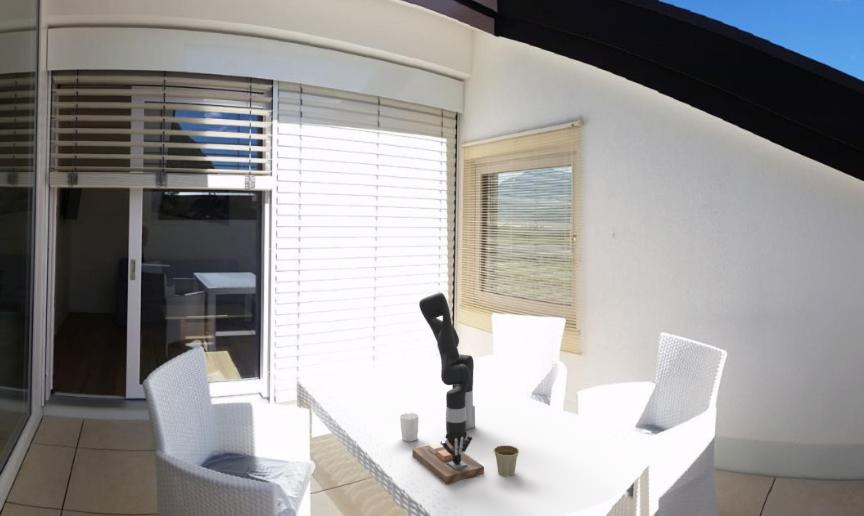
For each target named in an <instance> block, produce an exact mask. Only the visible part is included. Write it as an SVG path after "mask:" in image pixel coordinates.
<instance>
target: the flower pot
mask: <svg viewBox="0 0 864 516" xmlns="http://www.w3.org/2000/svg"><path fill="white" fill-rule="evenodd" d="M493 453H494V456H495V459H496V467H497V473H498V474H499V475H500V476H504V477H510V476H514V475H515V474H516V466H517V460H518V459H517V458H518V455H519V453H520V450H519V448H517V447H515V446H513V445H509V444H508V445H507V444H505V445H499V446H495V447H494V448H493Z"/></svg>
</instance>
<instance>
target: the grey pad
mask: <svg viewBox="0 0 864 516" xmlns="http://www.w3.org/2000/svg"><path fill="white" fill-rule="evenodd" d="M448 466H449V467H451V468H452V469H453V470H457V469H461V468H465V467H467V464H465V463H464V462H463V461H461V462H460V464H457V465H456V464H455V463H454V462H453V461H451V462H448Z"/></svg>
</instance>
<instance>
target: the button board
mask: <svg viewBox="0 0 864 516" xmlns="http://www.w3.org/2000/svg"><path fill="white" fill-rule="evenodd" d="M448 446H449V448H450V449H451V446H450V443H449V442H448ZM411 451H412V453H411V454H412V455H411V456H412V457H413V458H414V459H415V460H416V461H417V462H419V463H420V464H421V465H422V466H423V467H425V468H426V469H427V470H428V471H429V472H431V473H432V474H433V475H434V476H435V477H436V478H438V479H439V480H440V481H441V482H442V483H444V484H445V485H446V486H448V485H450V484H454V483H458V482H462V481H465V480H469V478H470V479H473V478H477V477H480V476H484V475H485V466H484V465H482V464H481V463H480V462H478V461H477V460H475V459H474V458H472V457H471V456H469V455H468V454H466V453H465V452H462V453H461V461H463V462H464V463H465V464H467V467H465V468H461V469H457V470H453V469H452V468H451V467H449V466H448V462H451V461H453V460H450V461H446V462H443V461H442V460H440V459H439V458H438V454H433V453H431V452H430V451H429V450H428V444H427V445H423V446H420V447H415V448H412V449H411ZM483 474H484V475H483Z"/></svg>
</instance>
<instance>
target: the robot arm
mask: <svg viewBox="0 0 864 516" xmlns="http://www.w3.org/2000/svg"><path fill="white" fill-rule="evenodd" d="M418 306H419V309H420V312H421V314H422V316H423V318H424V319H425V321H426V322H427V324H428V326H429V328H430V329H431V331H432V333H433V336H434V337H435V338H434V339H435V340H436V342H437V349H438V353H439V357H440V360H441V361H440V362H441V368H440V369H441V371H440V372H441V374H440V378H441V381H442V383H444V384H443V385H446V386H452V388H451V389H449V390H448V391H447V392H446V394H445V395H446V396H445V397H446V398H445V401H446V402H445V403H446V406H445V408H446V410H445V427H446V428H445V430H446V434H445V439H444V440H441V441H439V442H440V443H441V445H442V446H443V447H444V448H445V449H446V451H447V452H448V453H450V454H451V455H453V462H454V463H455V464H456V465H457V464H460V462H461V453H462V452H464V453H465V452H466V451H467V449H468V447H469V445H470V443H471V442H472V440H473V437H472V436H470V435H468V432H467V430H472V429H473V428H474V427H476V406H475V405H474V395H473V394H474V389H473V388H474V366H475V365H474V358H473V356H472V355H471V354H461V353H459V349H458V346H459V344H460V339H459V338H460V337H459V335H458V333H457V331H456V328H455V327H454V326H453V323H452V317H451V312H450V311H451V310H450V307H449V303H448V300H447V298H446V296H445V294H444V293H443V292H437V293H434V294H431V295H429V296H426V297H424V298H422V299H420V300H419V303H418ZM440 317H442V320H441V319H439V318H440ZM448 442H449V443H450V446H451V449H450V448H449V446H448Z"/></svg>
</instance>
